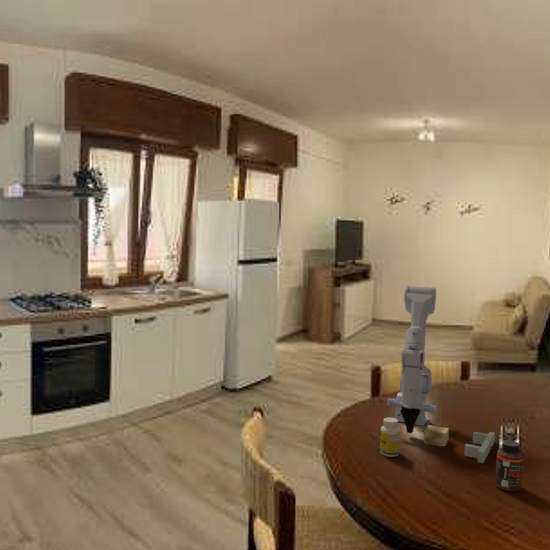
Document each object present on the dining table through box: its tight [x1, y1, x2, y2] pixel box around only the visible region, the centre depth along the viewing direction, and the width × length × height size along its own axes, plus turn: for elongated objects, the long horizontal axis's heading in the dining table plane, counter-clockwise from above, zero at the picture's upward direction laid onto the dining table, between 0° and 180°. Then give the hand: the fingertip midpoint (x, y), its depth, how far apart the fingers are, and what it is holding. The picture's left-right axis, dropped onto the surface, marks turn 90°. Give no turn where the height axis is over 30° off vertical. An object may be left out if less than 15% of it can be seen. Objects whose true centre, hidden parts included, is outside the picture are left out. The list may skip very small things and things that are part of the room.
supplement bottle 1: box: [379, 417, 401, 458], centre depth 167 cm, size 5×5×10 cm
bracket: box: [464, 431, 496, 464], centre depth 171 cm, size 6×18×3 cm, turn 151°
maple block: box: [423, 424, 450, 447], centre depth 177 cm, size 6×6×4 cm
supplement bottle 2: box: [494, 439, 524, 492], centre depth 147 cm, size 6×6×11 cm
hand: (409, 432), depth 181 cm, fingers closed
